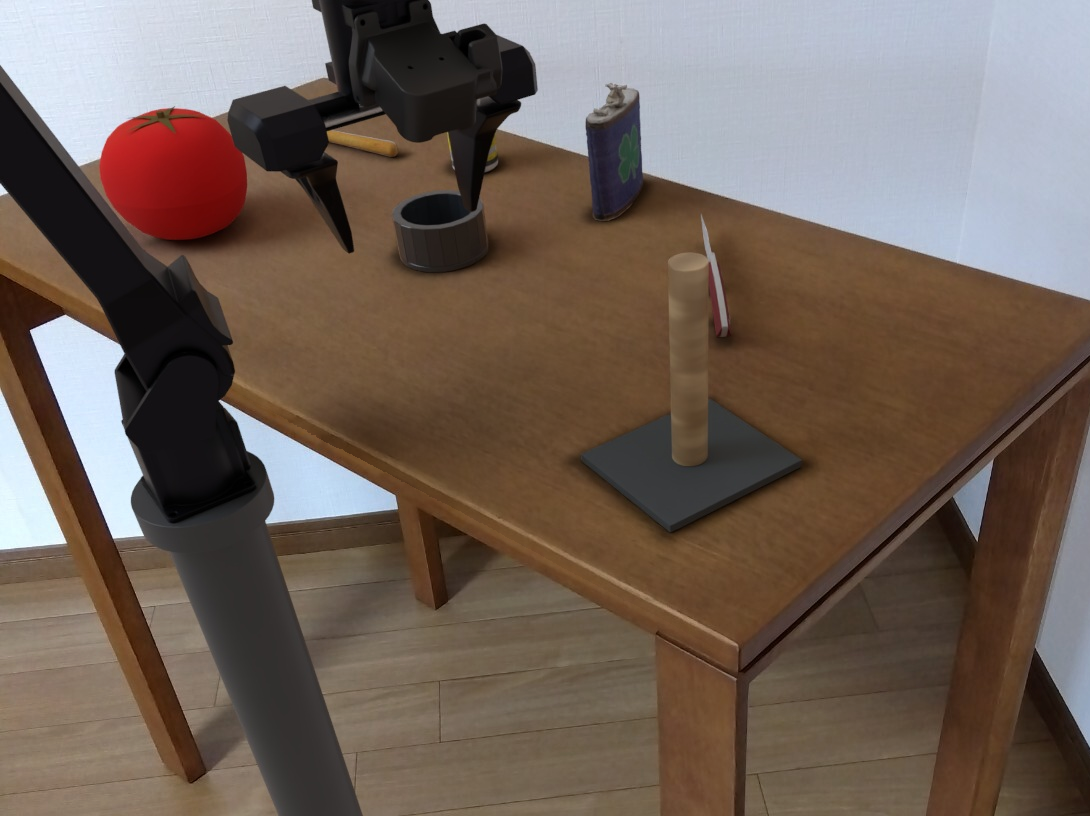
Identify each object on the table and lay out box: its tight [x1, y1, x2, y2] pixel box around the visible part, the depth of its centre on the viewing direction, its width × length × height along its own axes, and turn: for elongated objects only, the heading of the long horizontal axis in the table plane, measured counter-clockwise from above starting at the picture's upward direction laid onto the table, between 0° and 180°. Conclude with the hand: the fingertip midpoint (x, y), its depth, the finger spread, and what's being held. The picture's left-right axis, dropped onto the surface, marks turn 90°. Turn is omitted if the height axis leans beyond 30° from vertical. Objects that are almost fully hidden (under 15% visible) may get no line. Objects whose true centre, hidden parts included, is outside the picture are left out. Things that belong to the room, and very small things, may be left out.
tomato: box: [98, 105, 248, 241], centre depth 106 cm, size 12×13×11 cm
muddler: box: [667, 251, 710, 466], centre depth 72 cm, size 2×2×14 cm
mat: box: [580, 397, 803, 534], centre depth 77 cm, size 11×10×1 cm
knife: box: [700, 214, 732, 338], centre depth 94 cm, size 20×1×3 cm, turn 2°
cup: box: [391, 189, 490, 273], centre depth 101 cm, size 8×8×4 cm
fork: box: [327, 129, 399, 158], centre depth 123 cm, size 2×2×20 cm
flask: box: [585, 82, 644, 222], centre depth 105 cm, size 9×3×11 cm, turn 157°
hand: (411, 230), depth 76 cm, fingers open, 9 cm apart
